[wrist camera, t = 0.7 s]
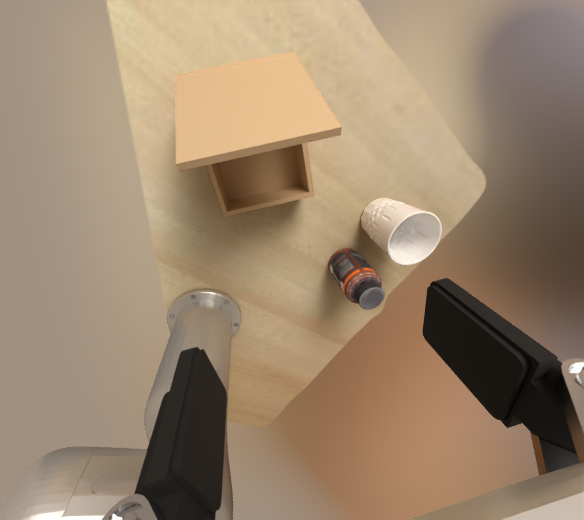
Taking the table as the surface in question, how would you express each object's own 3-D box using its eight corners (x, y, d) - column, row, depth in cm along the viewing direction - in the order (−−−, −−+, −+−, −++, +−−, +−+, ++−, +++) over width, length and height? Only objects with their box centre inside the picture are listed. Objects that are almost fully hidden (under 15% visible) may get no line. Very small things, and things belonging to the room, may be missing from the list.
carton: (304, 186, 37) (314, 195, 32) (225, 205, 36) (223, 217, 31) (286, 73, 30) (295, 61, 25) (188, 93, 29) (176, 85, 24)
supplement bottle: (323, 272, 45) (345, 312, 35) (334, 244, 43) (362, 278, 33) (351, 277, 47) (380, 317, 37) (363, 250, 44) (398, 284, 34)
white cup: (404, 192, 40) (449, 209, 32) (395, 236, 44) (433, 262, 35) (360, 195, 39) (393, 213, 30) (354, 240, 43) (383, 268, 34)
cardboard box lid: (340, 134, 18) (341, 127, 17) (180, 171, 17) (175, 163, 16) (293, 58, 25) (293, 51, 24) (178, 82, 24) (174, 74, 23)
